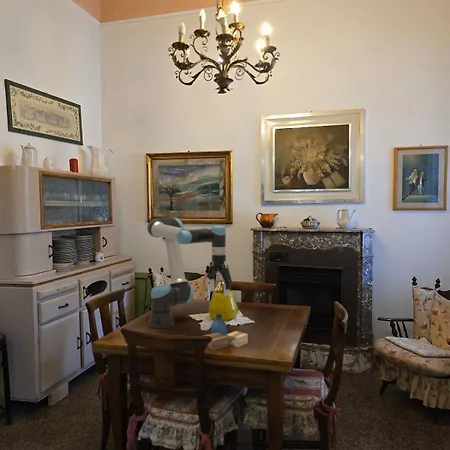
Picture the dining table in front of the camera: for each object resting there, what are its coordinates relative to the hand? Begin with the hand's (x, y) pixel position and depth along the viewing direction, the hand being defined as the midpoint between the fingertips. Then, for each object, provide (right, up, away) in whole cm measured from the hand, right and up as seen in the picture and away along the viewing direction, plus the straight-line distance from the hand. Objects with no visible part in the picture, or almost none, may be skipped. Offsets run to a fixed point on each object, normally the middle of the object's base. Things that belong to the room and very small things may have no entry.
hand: (219, 293), depth 234 cm
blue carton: (0, -24, +2) cm, 24 cm away
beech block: (+9, -25, -10) cm, 28 cm away
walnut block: (-2, -25, -13) cm, 28 cm away
